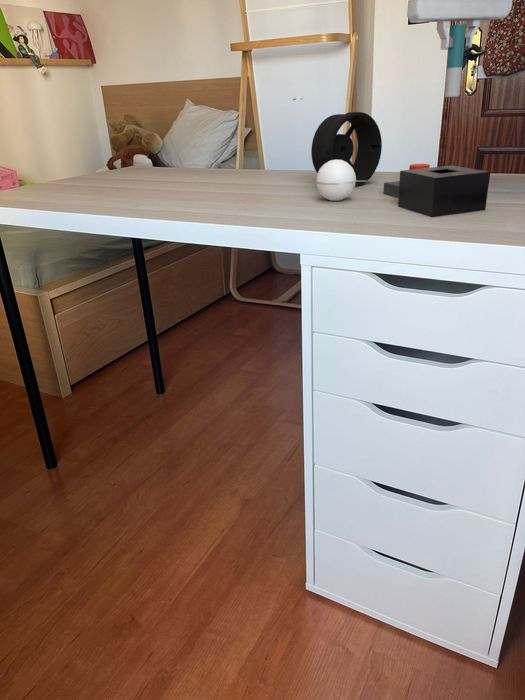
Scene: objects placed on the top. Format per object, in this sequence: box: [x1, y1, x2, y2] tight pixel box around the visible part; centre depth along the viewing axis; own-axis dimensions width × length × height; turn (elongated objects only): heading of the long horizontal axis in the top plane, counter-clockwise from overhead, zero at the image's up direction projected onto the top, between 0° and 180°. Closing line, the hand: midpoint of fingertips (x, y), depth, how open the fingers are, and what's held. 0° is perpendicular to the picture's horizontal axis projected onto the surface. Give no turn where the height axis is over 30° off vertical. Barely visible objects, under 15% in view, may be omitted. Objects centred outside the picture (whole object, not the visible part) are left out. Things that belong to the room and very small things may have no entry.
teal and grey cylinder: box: [443, 23, 467, 98], centre depth 100 cm, size 3×3×12 cm
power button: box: [408, 163, 431, 170], centre depth 98 cm, size 4×4×2 cm
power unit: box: [382, 180, 400, 199], centre depth 99 cm, size 10×8×4 cm
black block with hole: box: [397, 165, 491, 218], centre depth 86 cm, size 10×10×6 cm
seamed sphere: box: [315, 160, 356, 202], centre depth 96 cm, size 10×7×7 cm
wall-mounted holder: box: [310, 111, 383, 188], centre depth 111 cm, size 14×14×10 cm
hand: (456, 49), depth 99 cm, fingers closed on teal and grey cylinder, 3 cm apart
